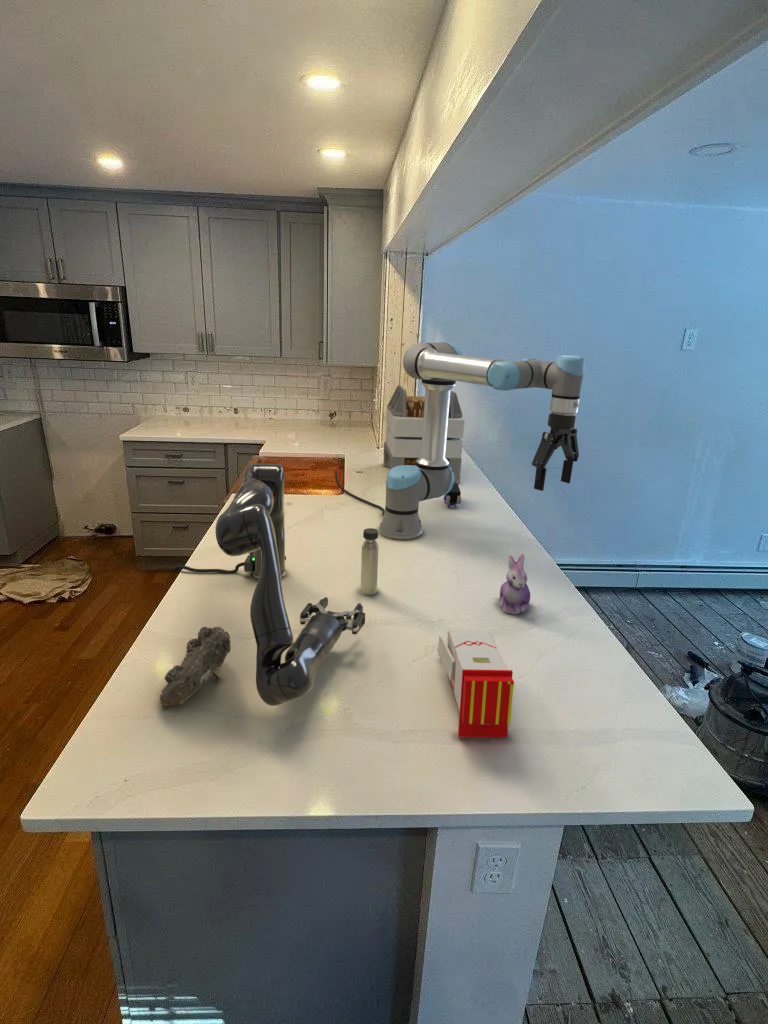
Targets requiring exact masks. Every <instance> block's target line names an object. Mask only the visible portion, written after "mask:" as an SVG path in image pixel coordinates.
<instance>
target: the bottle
mask: <svg viewBox="0 0 768 1024" xmlns="http://www.w3.org/2000/svg"><path fill="white" fill-rule="evenodd" d="M360 563H361V564H360V593H361V594H362V595H366V596H373V595H375V594H377V592H378V591H377V590H378V567H379V544H378V542H377V539H375V540H367V539H365V538H364V542H363V543H362V544H361V562H360Z"/></svg>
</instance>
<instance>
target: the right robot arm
mask: <svg viewBox="0 0 768 1024" xmlns="http://www.w3.org/2000/svg"><path fill="white" fill-rule="evenodd" d="M585 365H586V360H585V358H584V357H582V356H578V355H566V354H565V355H564V354H563V355H558V356H557V357H556V360H555V361H549V360H541V359H536V358H524V359H521V360H506V359H505V360H504V359H503V360H502V359H496V358H487V357H479V356H471V355H464V354H463V352H462V350H461V349H460V347H459V346H457V345H456V344H455V343H451V342H445V341H443V342H442V341H441V342H440V341H439V342H438V341H437V342H417V343H414V344H412V345H411V346H409V347H408V348H407V350H406V351H405V353H404V355H403V358H402V366H403V369H404V372H405V373H406V374H407V375H408V376H409V377H411V378H412V379H415V380H421V385H422V386H423V387H424V389H425V392H424V397H425V404H424V419H423V434H422V449H421V457H420V458H418V459H417V461H416V466H413V465H401V466H396V467H394V468H392V469H390V468H389V470H388V472H387V474H386V479H385V504H384V505H385V507H384V508H385V509H384V508H383V507H382V506H380V505H378V504H376V503H373V502H370V501H369V500H366V499H364V498H361V497H359V496H357V495H355V494H353V493H351V492H349V491H348V490H346V489H345V488H344V487H343V486H342V485H341V484H340V482H339V479H338V471H337V470H335V471H334V476H335V477H334V478H335V483H336V485H337V487H338V488H339V489H340V490H342V491H343V492H344V493H345V494H347V495H348V496H350V497H352V498H354V499H356V500H358V501H360V502H363V503H365V504H367V505H370V506H372V507H375V508H377V509H379V510H380V511H382V515H381V516H382V519H381V522H379V526H378V533H379V534H380V535H381V536H382V537H385V538H387V539H389V540H395V541H410V540H415V539H418V538H420V537H421V536H422V535H423V525H422V524H421V522H422V521H421V518H420V515H419V507H420V506H419V505H420V502H423V501H427V500H431V499H437V498H440V497H444V495H445V494H447V493H448V492H449V491H450V490H451V489H452V487H453V484H454V473H452V469H451V467H450V466H449V462H448V461H447V459H446V458H445V453H446V441H447V428H448V416H449V404H450V392H451V391H452V389H453V388H454V387H455V386H456V384H457V382H461V383H465V384H473V385H479V386H487V387H491V388H492V389H494V390H496V391H503V392H504V391H511V390H520V389H532V388H533V389H534V388H539V389H546V390H551V398H550V404H549V413H548V418H547V419H548V420H547V426H548V427H549V428H550V431H549V432H548V431H543V432H542V435H541V440H540V442H539V445H538V447H537V449H536V452H535V454H534V457H533V460H532V461H531V466H533V467H535V475H534V477H535V478H534V485H533V489H534V490H537V491H539V492H543V491H544V489H545V484H546V483H545V482H546V476H547V468H546V466H547V465H548V463H549V461H550V459H551V457H552V456H553V454H554V453H555V451H556V450H557V449H558V448H560V447H561V449H562V452H563V455H564V458H565V459H563V463H562V468H561V469H562V470H561V475H560V482H562V483H566V484H571V478H572V472H573V466H574V463H576V462H578V461H579V457H580V453H579V444H578V428H576V423H577V419H578V416H577V414H578V412H579V411H578V410H579V406H580V397H581V391H582V385H583V380H584V376H585Z"/></svg>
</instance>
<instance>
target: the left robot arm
mask: <svg viewBox="0 0 768 1024" xmlns="http://www.w3.org/2000/svg"><path fill="white" fill-rule="evenodd" d="M284 469H285V468H284V467H283V466H282V464H281V463H251V464H249V465H248V466H247V467H246V468H245V469H244V474H243V478H242V482H241V484H240V485H239V488H238V489H237V491H236V493H235V495H234V496H233V499H232V501H231V503H230V504H229V505H228V507H227V509H225V510H224V511H223V512H222V513H221V514H220V515H219V516H218V518H217V520H216V523H215V539H216V543H217V545H218V548H219V549H220V550H221V551H222V552H223V553H224V554H225V555H227V556H229V557H240V556H244V555H246V558H245V560H244V561H243V562H239V563H237V564H236V565H235V567H234V569H232V570H228V569H222V568H194V567H191V566H187V565H176V566H175V567H174V568H173V569H172V570H171V572H177V571H178V570H186V571H189V572H192V573H221V574H228V575H229V574H231V575H233V574H236V573H237V572H239V568H241V567H243V572H245V573H246V572H247V573H249V575H250V577H253V578H255V579H257V581H256V585H255V588H254V591H253V594H252V598H251V601H250V606H249V609H250V610H249V616H250V617H249V618H250V623H251V627H252V632H253V636H254V639H255V644H256V657H255V658H256V659H255V685H256V691H257V693H258V696H259V697H260V699H261V700H262V702H263V703H264V704H266V705H267V706H270V707H277V706H280V705H282V704H286V703H289V702H292V701H294V700H297V699H301V698H302V697H304V696H306V695H307V694H308V693H309V692H310V691H311V690H312V688H313V687H314V684H315V680H316V676H317V673H318V668H319V666H320V665H321V663H322V662H323V660H324V659H325V658H326V657H327V656H328V655H329V653H330V652H331V650H333V648H334V646H335V645H336V643H337V641H338V640H339V638H340V637H341V635H342V633H343V632H346V631H351V634H352V635H355V636H356V635H358V634H359V632H360V630H361V629H362V628H363V627H364V625H365V624H366V613H365V612H364V605H362V603H360V602H357V604H356V606H355V607H354V609H353V610H351V611H349V610H345V611H342V612H337V611H331V610H326V608H327V607H328V605H329V597H328V596H327V597H326V596H325V597H323V598H321V599H320V600H319V601H318V602H316V603H315V604H313V603H311V602H308V603H307V604H306V605H305V606H304V608H303V609H302V610H301V612H300V613H299V623H300V625H301V626H303V625H305V626H304V627H303V628H302V629H301V630H300V632H299V633H298V635H297V637H296V638H295V639H294V636H293V632H292V627H291V624H290V619H289V615H288V612H287V608H286V602H285V599H284V593H283V586H282V578H284V577H285V576H286V574H287V573H286V572H287V571H286V570H287V569H286V561H287V555H286V542H285V541H286V540H285V539H286V538H285V535H286V533H285V480H286V479H285V470H284ZM247 554H248V555H247ZM285 651H286V652H285ZM284 652H285V654H284V662H282V655H283V653H284Z"/></svg>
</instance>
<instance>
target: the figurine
mask: <svg viewBox="0 0 768 1024" xmlns="http://www.w3.org/2000/svg"><path fill="white" fill-rule="evenodd" d="M507 561H508V562H507V563H508V571H507V573H506V576H505V578H506V581H505V582H504V583H503V584H501V586H500V588H499V589H500V590H499V598H498V605H499V607H500V608H501V609H502V611H503V612H504V613H507V614H511V615H518V614H519V613H525V612H526V611H527V609H528V607H529V604H530V601H531V591H530V588H529V585H528V584H527V582H528V575H527V571H526V570H525V568H524V567H525V566H524V563H525V554H524V553H521V554H520V555H519V557H518V558H517V560H515V559H514V557H513V556H512V555H511V554H509V555H508V556H507Z"/></svg>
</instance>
